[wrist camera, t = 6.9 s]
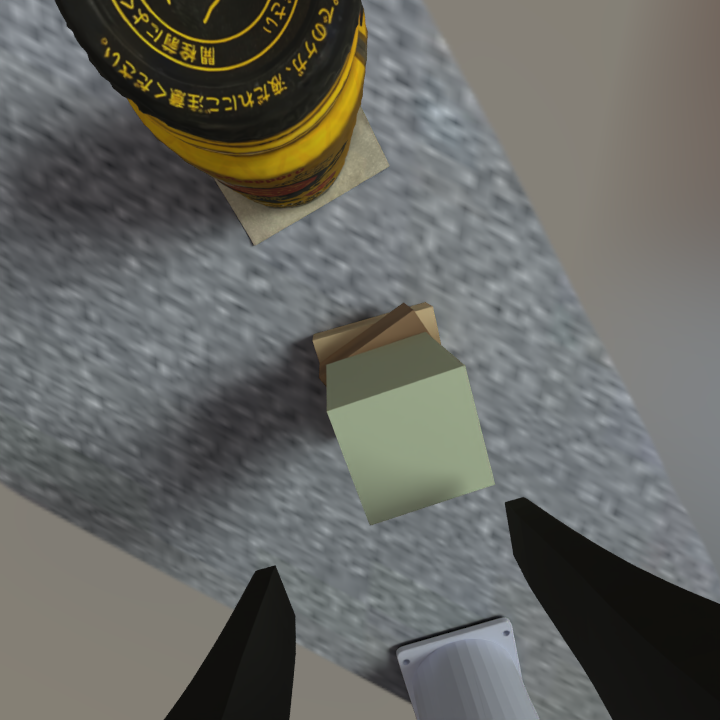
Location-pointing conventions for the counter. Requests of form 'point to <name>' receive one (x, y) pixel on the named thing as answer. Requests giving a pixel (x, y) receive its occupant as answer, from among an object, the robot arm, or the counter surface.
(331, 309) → the counter surface
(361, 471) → the sage block
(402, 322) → the walnut slab
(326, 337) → the oak slab
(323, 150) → the condiment
